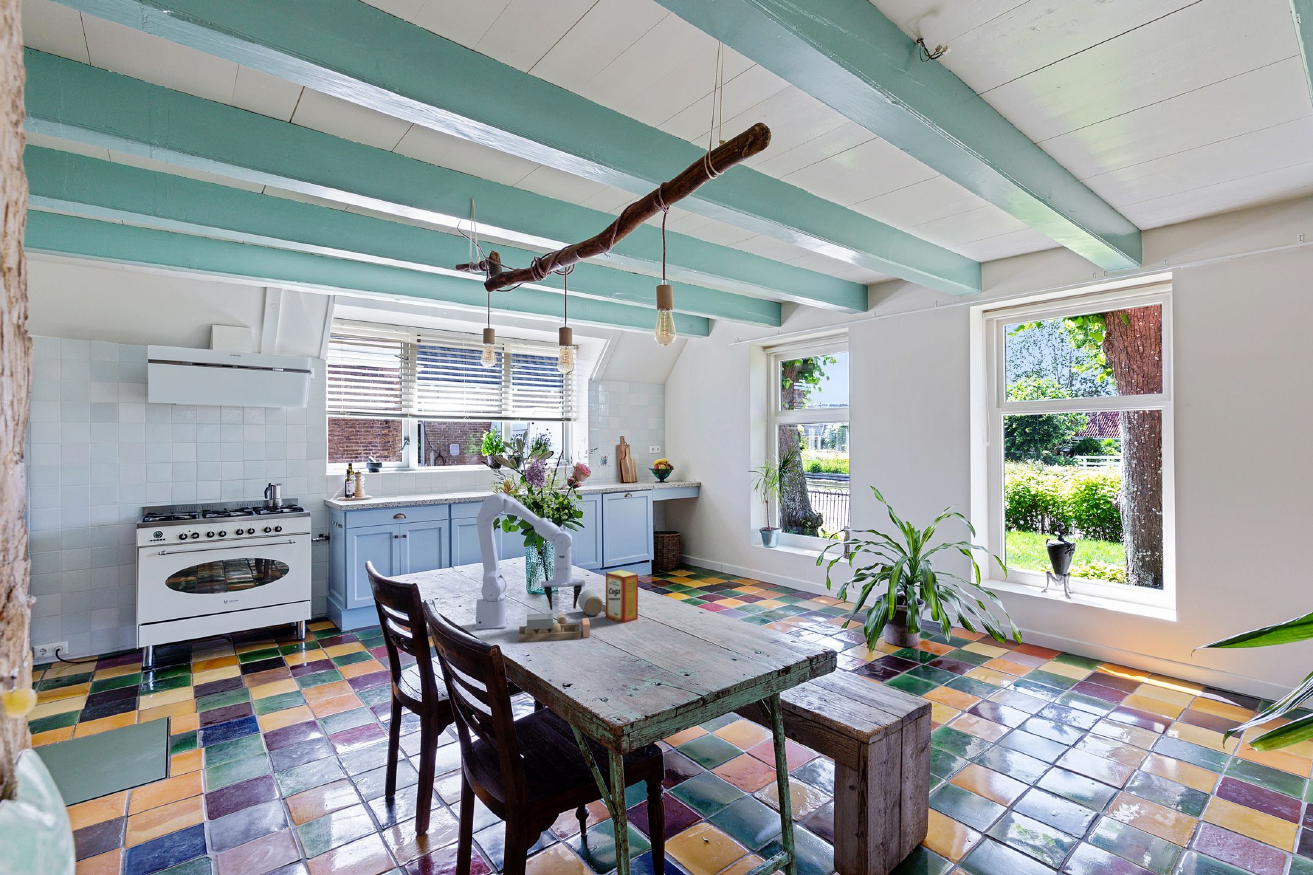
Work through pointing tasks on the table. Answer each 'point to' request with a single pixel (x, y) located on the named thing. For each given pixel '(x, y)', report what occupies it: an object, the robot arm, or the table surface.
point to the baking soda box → (622, 596)
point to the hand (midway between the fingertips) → (562, 608)
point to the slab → (539, 621)
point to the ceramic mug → (591, 603)
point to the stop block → (585, 627)
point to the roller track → (545, 636)
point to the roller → (561, 619)
